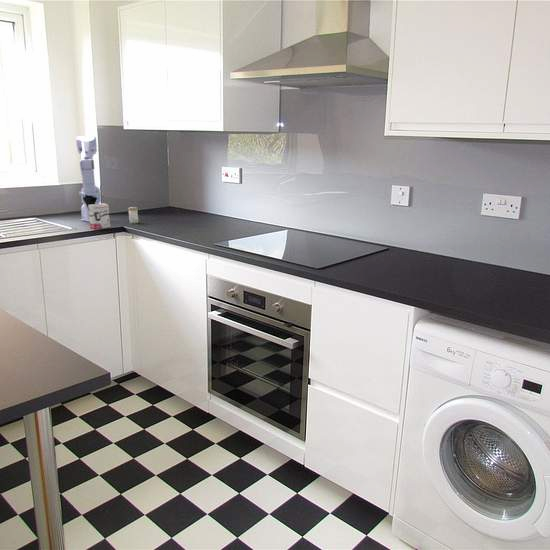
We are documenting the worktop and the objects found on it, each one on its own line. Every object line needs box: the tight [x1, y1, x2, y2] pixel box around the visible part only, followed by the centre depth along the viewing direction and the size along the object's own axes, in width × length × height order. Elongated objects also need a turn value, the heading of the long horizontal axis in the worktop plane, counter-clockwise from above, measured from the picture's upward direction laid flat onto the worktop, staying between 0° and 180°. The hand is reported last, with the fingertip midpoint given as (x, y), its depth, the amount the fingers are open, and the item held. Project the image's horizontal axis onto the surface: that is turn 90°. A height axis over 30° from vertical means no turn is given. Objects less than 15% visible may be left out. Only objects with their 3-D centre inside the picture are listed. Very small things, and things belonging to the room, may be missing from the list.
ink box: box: [88, 202, 111, 230], centre depth 263 cm, size 8×5×12 cm, turn 134°
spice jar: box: [127, 206, 139, 224], centre depth 279 cm, size 5×5×8 cm
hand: (91, 210), depth 266 cm, fingers closed
